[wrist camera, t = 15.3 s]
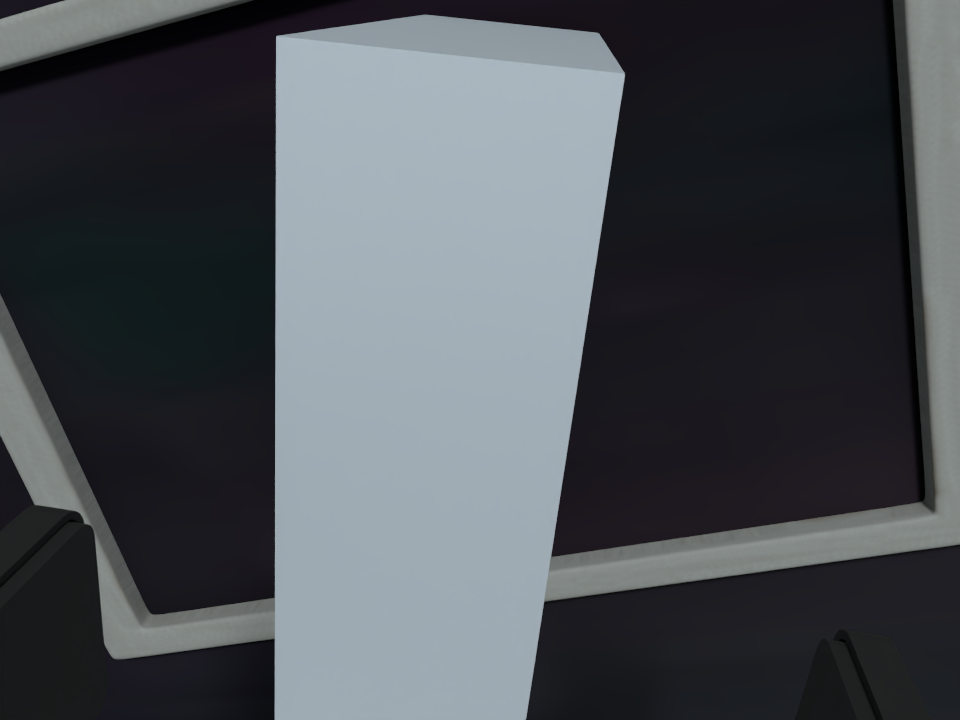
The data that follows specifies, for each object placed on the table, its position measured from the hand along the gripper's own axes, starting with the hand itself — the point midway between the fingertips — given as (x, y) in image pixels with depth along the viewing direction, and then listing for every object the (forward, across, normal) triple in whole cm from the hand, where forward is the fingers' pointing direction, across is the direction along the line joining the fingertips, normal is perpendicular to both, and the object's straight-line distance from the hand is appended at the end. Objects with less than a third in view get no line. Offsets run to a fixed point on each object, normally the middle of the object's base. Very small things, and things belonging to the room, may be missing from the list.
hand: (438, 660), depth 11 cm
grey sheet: (+13, +1, 0) cm, 13 cm away
